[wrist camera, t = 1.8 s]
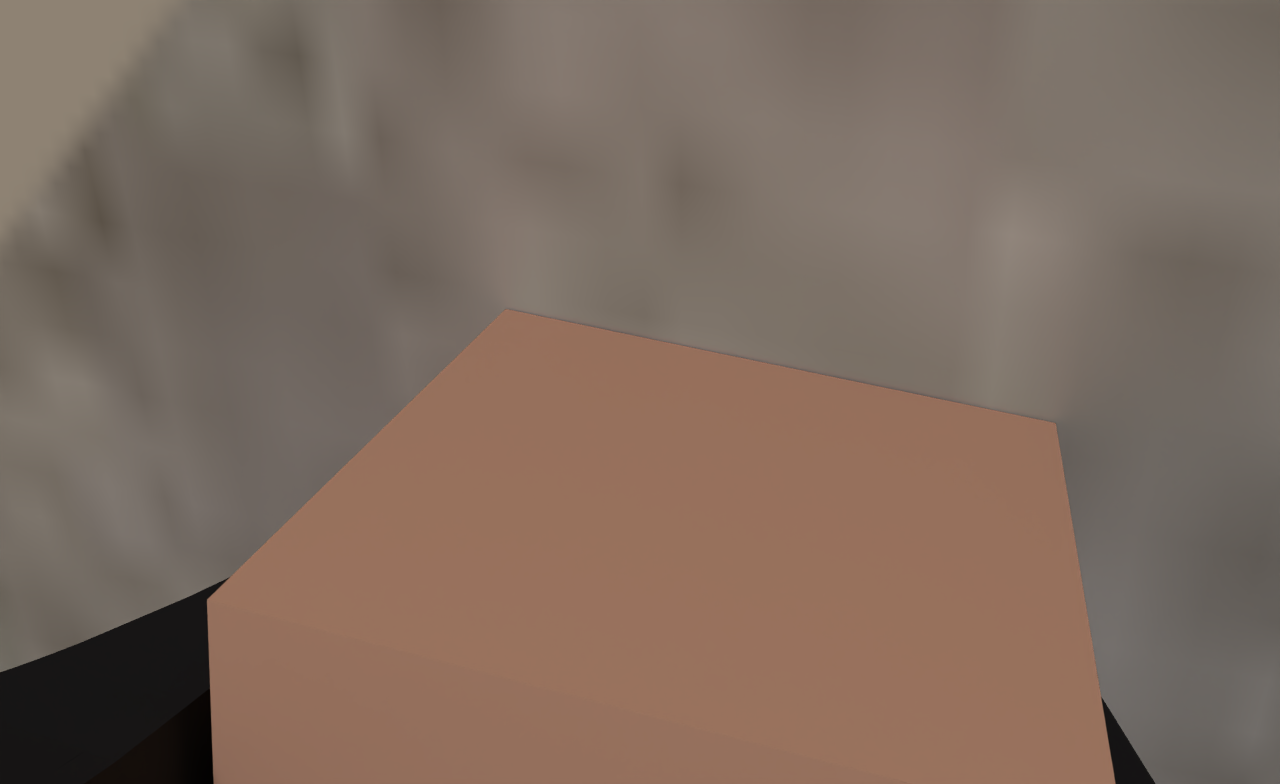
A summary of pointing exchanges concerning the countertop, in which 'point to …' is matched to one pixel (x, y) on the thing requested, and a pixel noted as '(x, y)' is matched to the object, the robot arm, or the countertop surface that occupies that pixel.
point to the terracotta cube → (665, 586)
